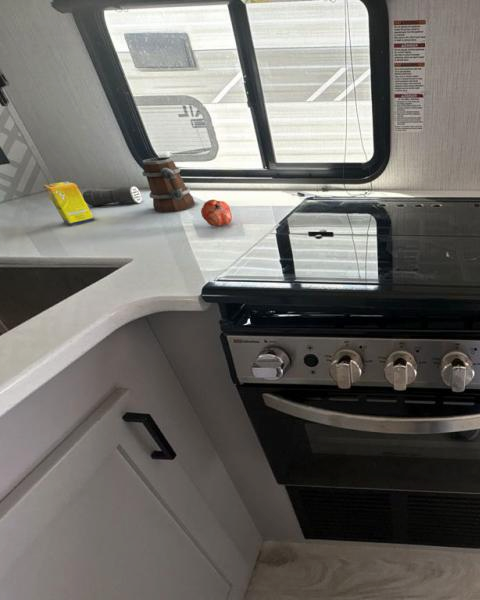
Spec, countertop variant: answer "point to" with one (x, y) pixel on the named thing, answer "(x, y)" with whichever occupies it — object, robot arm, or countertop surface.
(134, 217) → the countertop surface
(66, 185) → the supplement box
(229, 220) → the pomegranate
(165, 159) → the mug
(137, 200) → the flashlight
